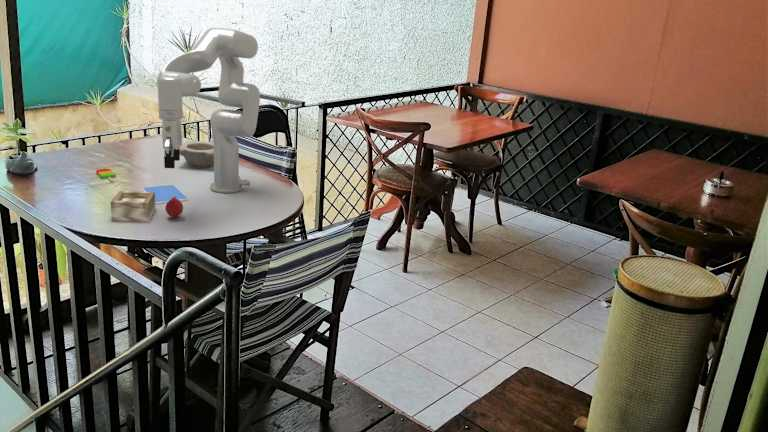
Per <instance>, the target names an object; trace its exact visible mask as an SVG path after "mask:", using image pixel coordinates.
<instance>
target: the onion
mask: <svg viewBox="0 0 768 432" xmlns="http://www.w3.org/2000/svg"><path fill="white" fill-rule="evenodd" d="M165 204H166V205H165V211H166V213H167V215H168V216H169V217H171V218H172V219H177V218H178V217H179V216H180V215H182V213H183V212H184V205H183V203H182V202H180V201H179V200H178V199H176V196H173V198H172V199H171V200H169V201H168V202H167V203H165Z"/></svg>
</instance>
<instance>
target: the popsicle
mask: <svg viewBox="0 0 768 432" xmlns="http://www.w3.org/2000/svg"><path fill="white" fill-rule="evenodd" d="M95 172H96V174H97V176H98V177H99V178H100V179H101V180H105V179H106V180H107V179H108V181H110V182H111V183H112V182H113V183H114V180H113V179H115V178H117V175H116V174H115V172H113V171H112V170H111V169H110V168H101V169H97V170H96V171H95Z"/></svg>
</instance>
